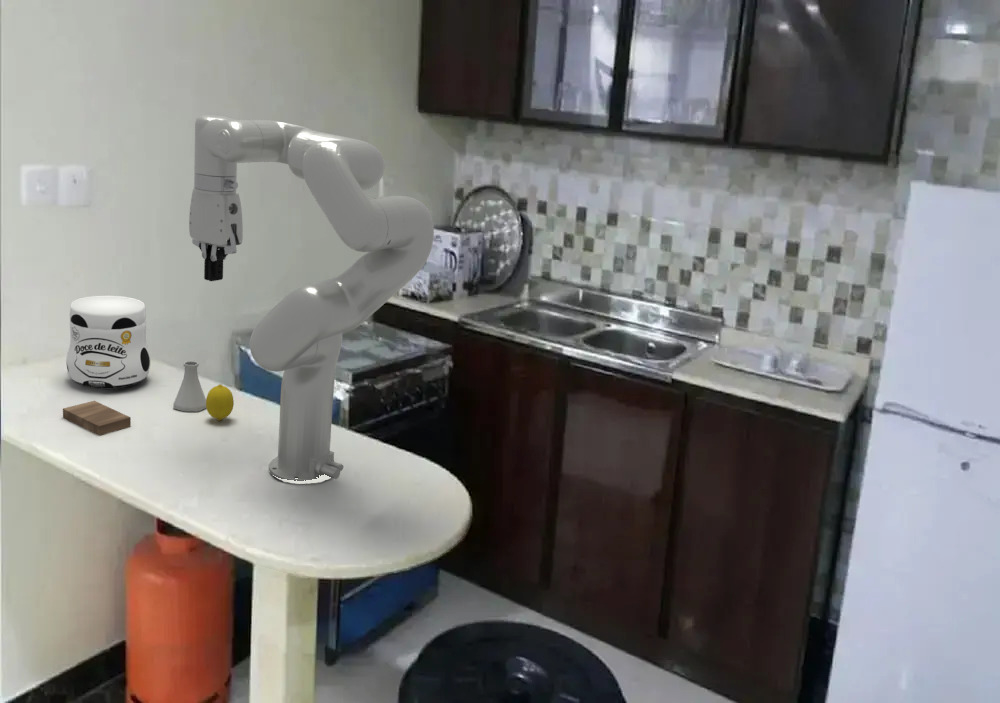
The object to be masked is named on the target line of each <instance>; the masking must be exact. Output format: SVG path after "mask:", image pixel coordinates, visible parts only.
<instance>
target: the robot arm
mask: <svg viewBox="0 0 1000 703" xmlns="http://www.w3.org/2000/svg"><path fill="white" fill-rule="evenodd" d="M240 163H241V164H244V163H248V164H249V163H278V164H279V163H280V164H285V165H288V166H289V169H290V171H291V172H292V174H293V175H294V176H295V177H297V178H299V179H302V180H304V181H305V183H306V186H307V188H308V189H309V191H310V193H311V194H312V196H313V198H314V199H315V201H316V203H317V204H318V206H319V207H320V209H321V211H322V212H323V214H324V215H325V217H326V218H327V220H328V222H329V224H330V225H331V226H332V227H331V228H333V230H334V231H335V233H336V234H337V236H338V237H339V238H340V240H341V242H343V243H344V245H345V246H347V247H348V248H350V249H352V250H354V251H356V252H360V253H365V254H363V255H362V256H361V257H359V258H358V259H357V260H355V262H354V263H352V265H351V266H349V267H348V269H346V270H345V271H344V272H342V273H341V274H340V275H338V276H335V277H333V278H329V279H326V280H321V281H315V282H312V283H311V282H310V283H307V284H303V285H301V286H299V287H297V288H295V289H293V290H292V291H290V292H289V293H287V295H285V296H284V297H283V298H282V299H281V300H280V301H279V302H278V303H277V304H276V305H275V306H274V307H272V308H271V310H270V311H269V312H267V313H266V314H265V316H263V317H262V318H261V319H260V320H259V321H258V323H257V324H255V326H254V328H253V330H252V333H251V335H250V339H249V340H250V342H249V347H250V348H249V349H250V354H251V356H252V358H253V360H254V361H255V363H256V364H257V365H258V366H259V367H261V368H262V369H264V370H267V371H270V372H274V373H275V372H283V375H282V378H281V384H280V386H281V387H280V388H281V389H280V403H279V427H278V428H279V429H278V448H277V449H278V451H277V456H276V457H274V458H273V459H272V460H271V461H269V464H268V472H269V471H270V472H269V474H270V473H271V474H272V475H274V476H276V477H278V478H281V479H287V480H294V481H296V480H297V481H304V480H305V481H306V480H312V479H317V478H316V477H318V478H319V475H320V476H321V475H324V474H325V475H327V476H329V477H331V479H334V480H337V479H338V478H339V477H340V475H341V472H342V471H343V470H344V465H343V464H341V463H340V462H335V452H333V451H331V437H332V435H331V434H332V422H333V404H334V394H335V393H334V390H335V380H336V379H335V378H336V369H337V364H338V361H339V358H340V357H339V356H340V354H341V353H340V352H341V349H342V346H343V345H342V344H343V334H345V333H348V332H351V331H353V330H355V329H357V328H358V327H360V326H361V325H362V324H363V323H364V322H366V320H368V318H370V317H371V316H372V315H373V314H374V313H375V312H377V311H378V310H380V308H381V307H382V306H384V304H387V302H388V301H389V300H390V299H391V298H392V297H393V296H395V294H396V293H398V292H400V290H402V289H403V288H404V287H405V286H407V284H408V283H410V282H411V281H412V279H414V278H415V277H416V276H417V274H418V273H419V272H420V271H421V270H422V268H424V265H425V263H426V262H427V260H428V258H429V257H430V254H431V251H432V247H433V245H434V238H435V237H434V234H435V232H434V229H435V228H434V227H435V226H434V222H433V217H432V215H431V212H430V210H429V209H428V207H427V206H426V205H425V204H424V203H423V202H422V201H421V200H418V199H416V198H414V197H411V196H405V195H388V196H387V195H386V196H376V197H368V196H367V195H366V193H365V191H366V190H370V189H372V188H373V187H375V186H377V185H378V183H379V182H381V180H382V178H383V176H384V172H385V167H386V166H385V160H384V157H383V155H382V153H381V151H380V150H379V149H378V148H377V147H376V146H374V145H373V144H371V143H369V142H367V141H365V140H361V139H358V138H352V137H348V136H347V137H346V136H343V135H337V134H332V133H327V132H323V131H317V130H314V129H311V128H308V127H306V126H303V125H298V124H294V123H288V122H284V121H278V120H269V119H267V120H266V119H235V118H232V117H228V116H224V115H218V114H216V115H215V114H202V115H199V116H198V117H197V118H196V119H195V122H194V165H193V166H194V168H193V169H194V179H193V181H194V183H193V184H194V185H193V189H192V193H191V198H190V205H189V215H188V216H189V217H188V218H189V220H188V228H189V229H188V230H189V232H188V233H189V236H190V238H191V239H192V240H191V242H192V244H193V245H194V246H196V247H197V248H199V251H200V252H201V257H202V259H204V270H203V271H204V272H203V273H204V275H203V278H204V280H206V281H209V282H216V281H221V280H223V278H224V261H225V260H226V259H227V256H228V255H234V254H237V251H238V250H237V246H239V245H241V244H242V243H243V237H244V236H243V232H244V231H243V226H244V225H243V211H242V205H241V197H240V194H239V193H237V189H238V187H239V184H238V182H237V179H238V178H237V176H238V173H237V171H238V164H240ZM271 474H270V475H271ZM272 475H271V476H272ZM295 478H298V479H295Z"/></svg>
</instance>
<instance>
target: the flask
mask: <svg viewBox="0 0 1000 703" xmlns="http://www.w3.org/2000/svg"><path fill="white" fill-rule="evenodd" d="M199 365H200V362H199V361H196V360H185V361H183V367H184V373H183V379H182V381H181V385H180V386H179V390H178V392H177V394H176V397H175V398H174V399H175V400H174V401H173V407H172V408H173V409H174V410H179V411H181V412H200V411H202V410H205V409H207V408H206V398H207V397H206V395H205V393H204V391H203V388H202V385H201V381H200V379H199V373H198V367H199Z"/></svg>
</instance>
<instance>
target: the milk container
mask: <svg viewBox="0 0 1000 703" xmlns="http://www.w3.org/2000/svg"><path fill="white" fill-rule="evenodd" d="M69 309H70V310H69V332H70V342H69V347H68V350H67V355H66V360H65V361H66V370H67V374H68V376H69V378H70V379H71V380H72V381H73V382H74V383H75V384H78V385H81V386H82V387H87V388H94V389H106V390H109V389H110V390H111V389H121V388H122V389H123V388H125V387H132V386H134V385H136V384H139V383H141V382H142V381H144V380H145V379H146V378H147V377H148V375H149V374H150V369H151V354H150V350H149V346H148V344H147V320H146V317H147V316H146V315H147V312H146V310H147V309H146V305H145V302H143V301H142V300H141V299H137V298H134V297H129V296H123V295H111V294H110V295H108V294H107V295H89V296H85V297H81V298H80V297H79V298H76V299H75V300H72V301H71V303H70V308H69Z"/></svg>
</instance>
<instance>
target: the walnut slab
mask: <svg viewBox="0 0 1000 703" xmlns="http://www.w3.org/2000/svg"><path fill="white" fill-rule="evenodd" d="M131 418H132V417H131V416H128V415H126V414H125V413H122V412H120V411H117V410H115V409H113V408H111V407H109V406H107V405H105V404H102V403H100V402H99V401H96V400H92V401H87V402H85V403H80V404H75V405H72V406H66V407H63V408H62V419H64V420H66V421H69V422H70V423H72V424H74V425H76V426H79V427H80V428H82V429H85V430H86V431H89V432H90V433H93V434H94V435H96V436H99V437H101V436H102V435H106V434H110V433H113V432H117V431H121V430H123V429H128V428H130V427H131V422H132V421H131V420H132V419H131Z"/></svg>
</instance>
